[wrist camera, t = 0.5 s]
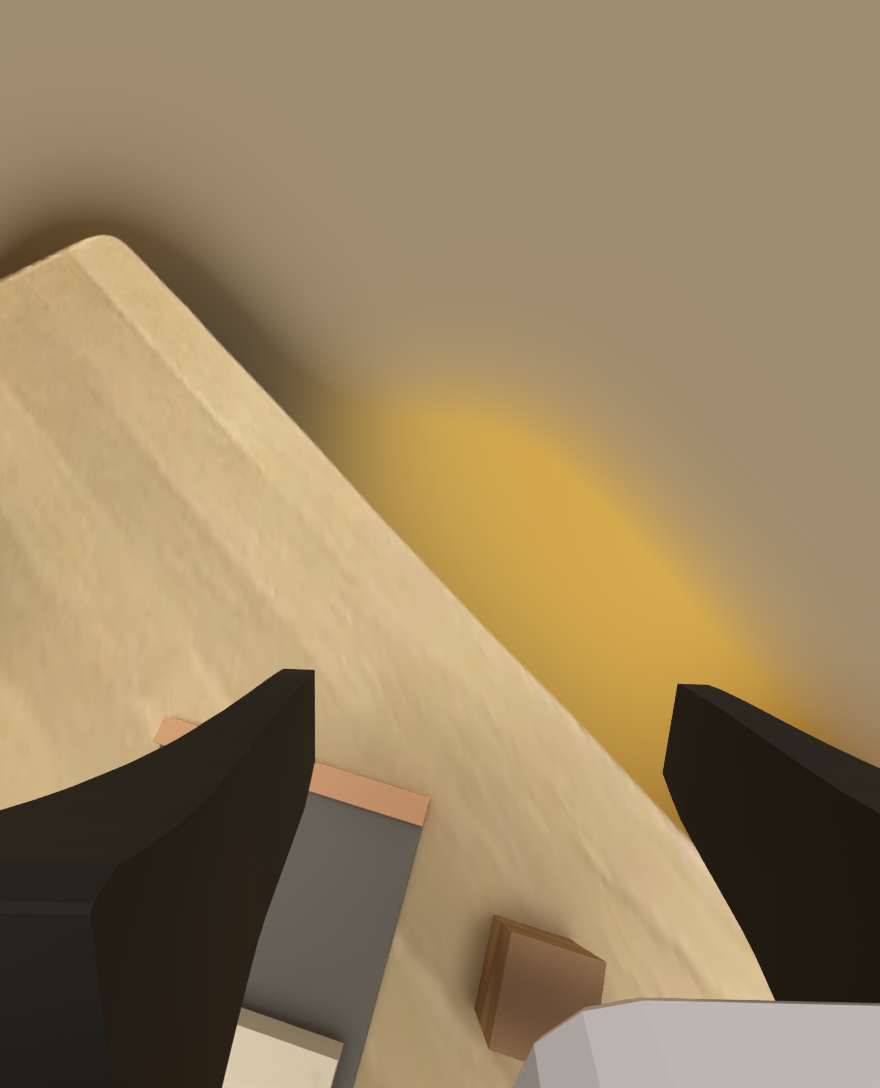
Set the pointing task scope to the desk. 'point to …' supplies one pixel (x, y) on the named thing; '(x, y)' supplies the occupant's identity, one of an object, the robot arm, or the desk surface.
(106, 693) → the desk surface
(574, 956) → the walnut block
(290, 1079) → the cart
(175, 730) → the thin flat board
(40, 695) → the desk surface
